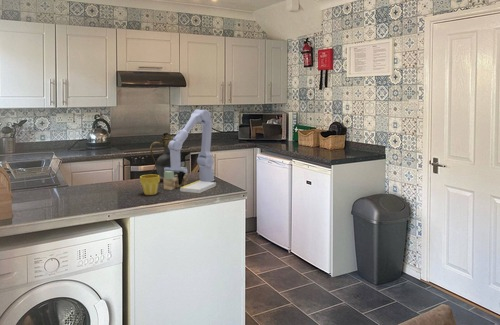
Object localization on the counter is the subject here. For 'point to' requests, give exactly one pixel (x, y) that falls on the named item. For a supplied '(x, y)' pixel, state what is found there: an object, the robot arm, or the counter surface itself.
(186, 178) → the tan wooden bar
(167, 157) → the pitcher
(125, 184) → the counter surface
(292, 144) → the counter surface
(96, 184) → the counter surface
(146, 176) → the plant pot
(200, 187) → the dock
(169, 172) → the block
